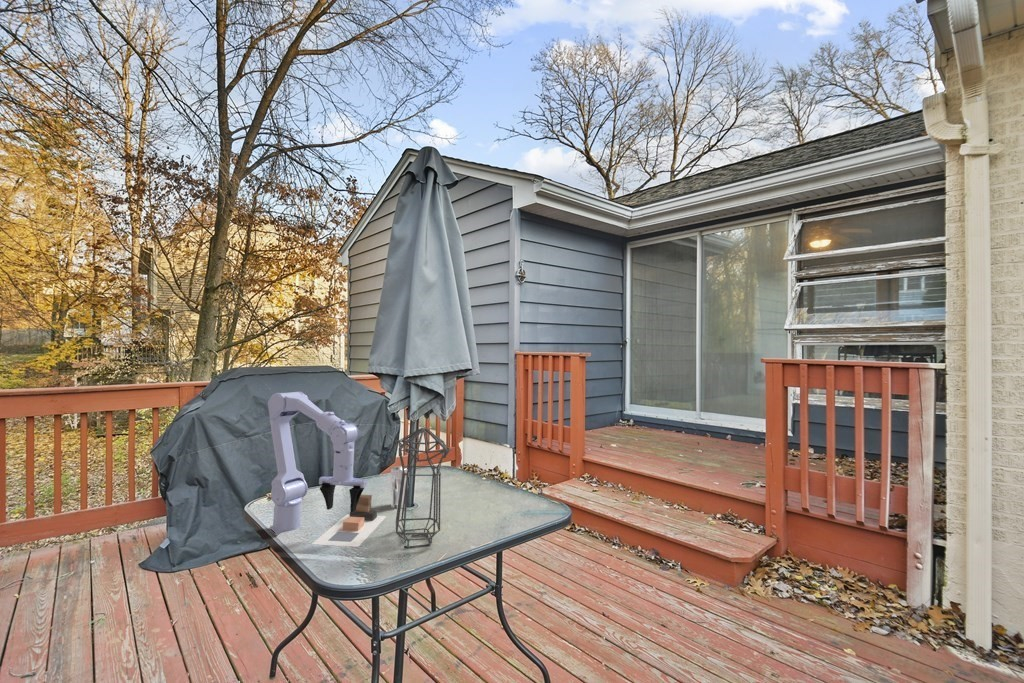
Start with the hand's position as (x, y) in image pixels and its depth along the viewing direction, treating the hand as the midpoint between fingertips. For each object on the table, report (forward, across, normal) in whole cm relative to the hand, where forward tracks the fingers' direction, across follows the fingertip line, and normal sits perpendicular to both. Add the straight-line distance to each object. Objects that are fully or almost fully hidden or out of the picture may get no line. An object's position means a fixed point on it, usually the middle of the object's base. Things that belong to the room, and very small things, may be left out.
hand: (341, 509), depth 139 cm
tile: (+9, 0, +9) cm, 13 cm away
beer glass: (+10, +5, +33) cm, 35 cm away
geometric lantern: (+10, +23, +7) cm, 26 cm away
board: (+10, 0, +8) cm, 13 cm away
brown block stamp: (+9, -1, +18) cm, 20 cm away
